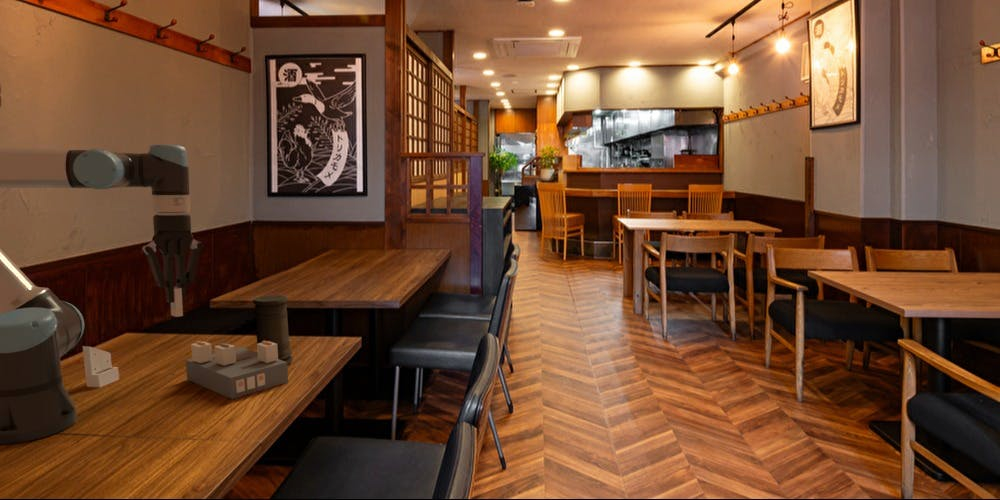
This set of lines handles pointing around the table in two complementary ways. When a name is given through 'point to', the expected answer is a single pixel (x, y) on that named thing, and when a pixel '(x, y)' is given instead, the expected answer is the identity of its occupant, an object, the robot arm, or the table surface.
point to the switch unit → (238, 374)
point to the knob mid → (225, 354)
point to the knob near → (267, 351)
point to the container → (273, 324)
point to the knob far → (201, 352)
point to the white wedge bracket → (98, 367)
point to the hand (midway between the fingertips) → (177, 315)
